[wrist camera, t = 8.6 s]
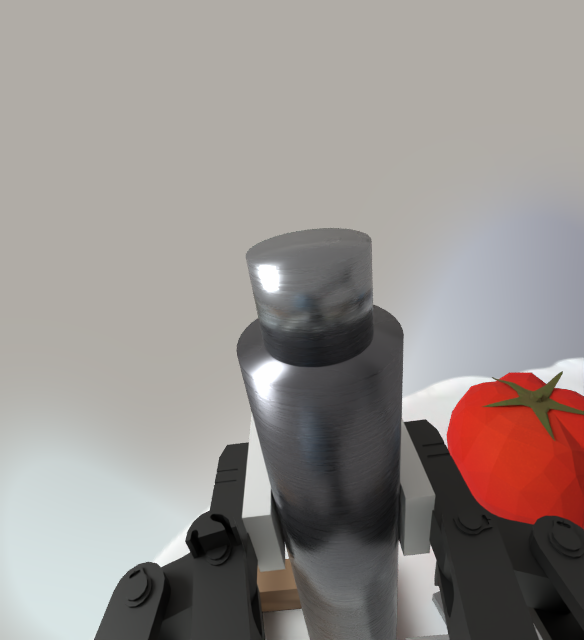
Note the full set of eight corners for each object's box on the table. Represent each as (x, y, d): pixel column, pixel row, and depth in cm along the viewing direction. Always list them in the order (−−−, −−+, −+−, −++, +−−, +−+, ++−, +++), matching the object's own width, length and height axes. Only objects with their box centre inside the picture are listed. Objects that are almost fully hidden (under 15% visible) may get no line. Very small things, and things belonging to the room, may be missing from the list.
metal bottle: (382, 568, 16) (376, 213, 8) (409, 677, 13) (440, 263, 5) (304, 577, 16) (227, 234, 8) (311, 687, 13) (196, 297, 5)
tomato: (577, 451, 34) (614, 356, 29) (633, 607, 24) (708, 503, 18) (443, 428, 39) (451, 342, 33) (439, 548, 28) (451, 452, 23)
